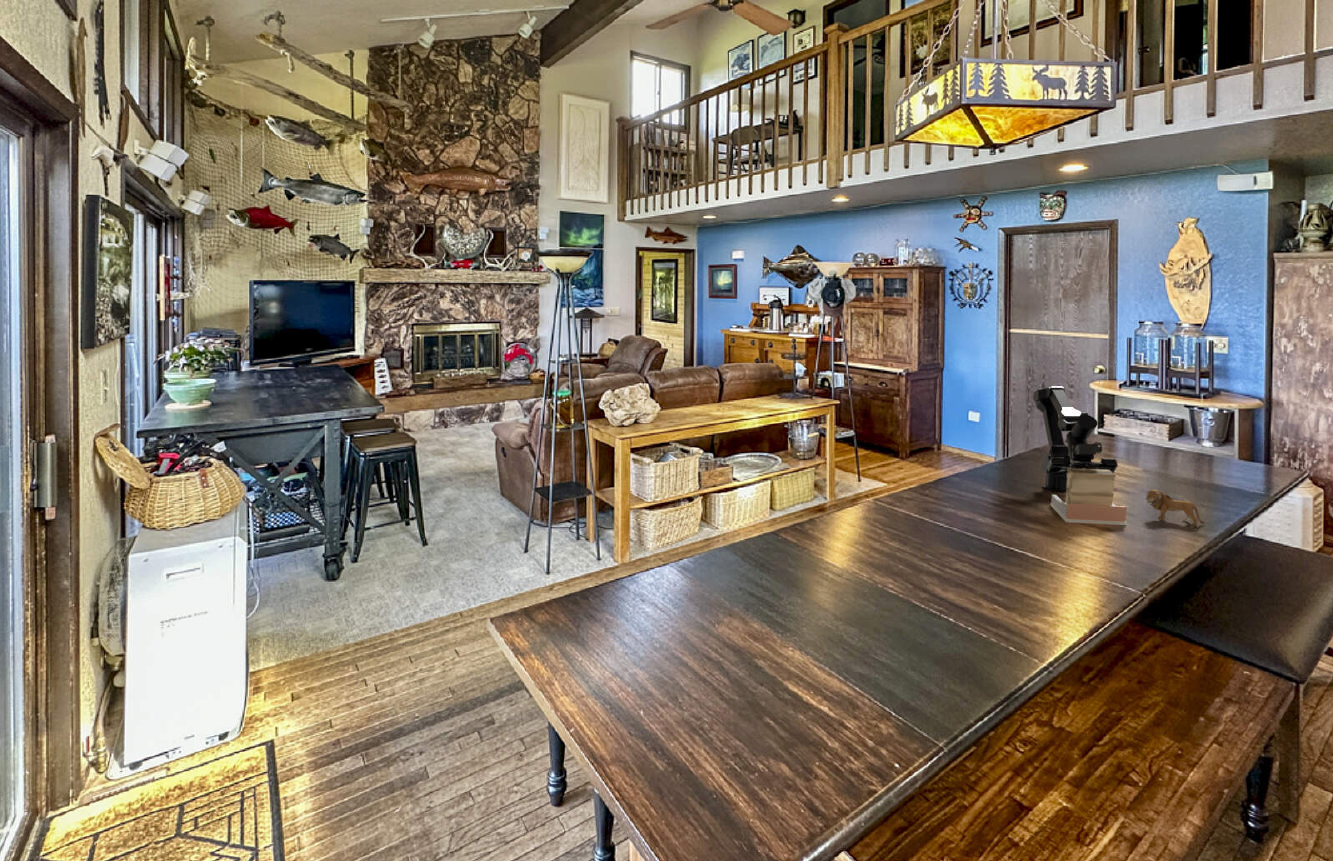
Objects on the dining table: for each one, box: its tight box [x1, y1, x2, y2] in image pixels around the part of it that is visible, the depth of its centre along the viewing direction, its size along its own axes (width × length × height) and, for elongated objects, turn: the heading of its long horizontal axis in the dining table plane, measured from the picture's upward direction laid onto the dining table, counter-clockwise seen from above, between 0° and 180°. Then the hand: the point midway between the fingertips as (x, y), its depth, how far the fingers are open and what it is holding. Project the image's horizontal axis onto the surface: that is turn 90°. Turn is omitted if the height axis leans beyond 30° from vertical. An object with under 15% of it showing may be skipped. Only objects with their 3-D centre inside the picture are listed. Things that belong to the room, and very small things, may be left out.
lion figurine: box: [1145, 489, 1206, 527], centre depth 207 cm, size 15×5×9 cm, turn 52°
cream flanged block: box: [1065, 468, 1117, 506], centre depth 214 cm, size 6×11×13 cm, turn 75°
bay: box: [1050, 494, 1128, 526], centre depth 216 cm, size 19×16×6 cm
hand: (1086, 488), depth 217 cm, fingers closed, pressing on cream flanged block
